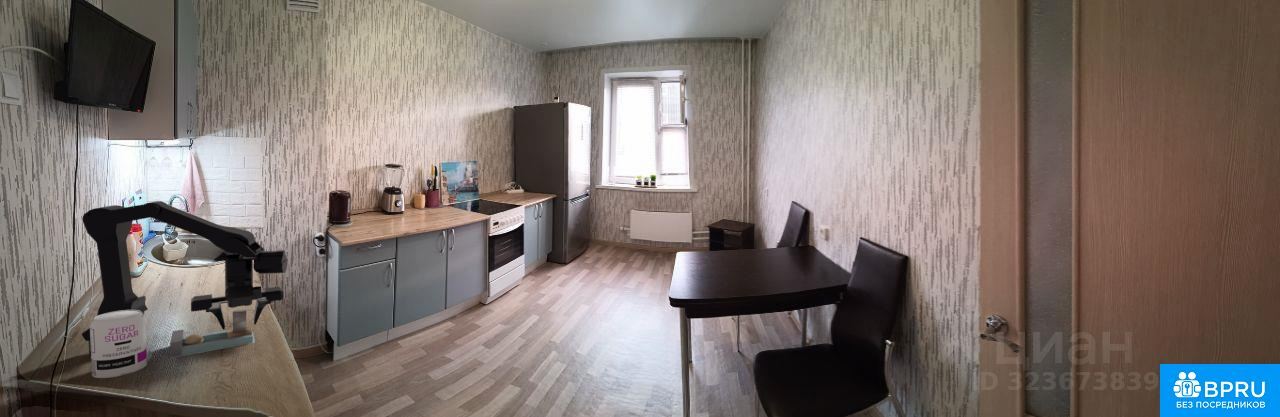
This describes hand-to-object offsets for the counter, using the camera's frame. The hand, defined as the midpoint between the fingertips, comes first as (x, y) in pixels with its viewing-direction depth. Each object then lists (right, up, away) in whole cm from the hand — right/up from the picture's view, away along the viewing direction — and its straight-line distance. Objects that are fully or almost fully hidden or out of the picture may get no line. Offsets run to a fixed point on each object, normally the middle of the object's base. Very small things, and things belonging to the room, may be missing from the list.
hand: (239, 326), depth 117 cm
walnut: (-7, -4, -6) cm, 10 cm away
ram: (0, -4, 0) cm, 4 cm away
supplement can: (-10, -6, -19) cm, 22 cm away
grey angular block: (-9, -4, -8) cm, 13 cm away
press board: (-4, -5, -3) cm, 7 cm away
